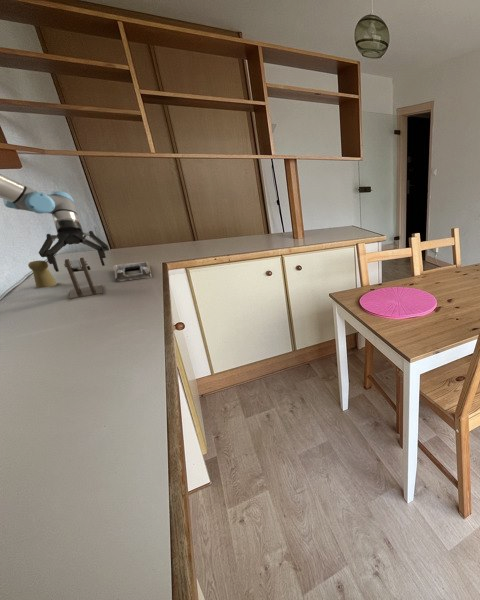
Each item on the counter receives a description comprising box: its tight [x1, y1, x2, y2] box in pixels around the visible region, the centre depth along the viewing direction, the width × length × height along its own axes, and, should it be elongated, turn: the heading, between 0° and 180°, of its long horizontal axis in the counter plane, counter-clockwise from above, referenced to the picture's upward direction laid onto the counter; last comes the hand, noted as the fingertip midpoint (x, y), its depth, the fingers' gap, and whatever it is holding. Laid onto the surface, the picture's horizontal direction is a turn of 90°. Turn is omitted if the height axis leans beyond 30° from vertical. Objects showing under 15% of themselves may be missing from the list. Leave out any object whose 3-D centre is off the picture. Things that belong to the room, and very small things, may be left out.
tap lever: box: [69, 259, 92, 273], centre depth 121 cm, size 13×6×2 cm, turn 43°
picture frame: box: [112, 261, 152, 282], centre depth 145 cm, size 13×25×3 cm, turn 41°
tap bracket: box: [63, 257, 103, 300], centre depth 119 cm, size 12×9×14 cm
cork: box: [27, 260, 58, 289], centre depth 126 cm, size 6×6×11 cm
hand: (80, 266), depth 126 cm, fingers open, 13 cm apart
